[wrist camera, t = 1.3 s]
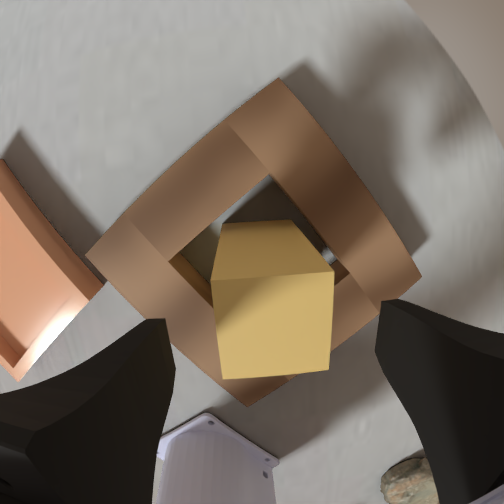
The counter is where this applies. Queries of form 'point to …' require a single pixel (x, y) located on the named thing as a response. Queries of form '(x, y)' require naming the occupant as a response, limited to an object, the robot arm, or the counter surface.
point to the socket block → (225, 195)
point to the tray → (34, 279)
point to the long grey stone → (410, 483)
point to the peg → (271, 301)
